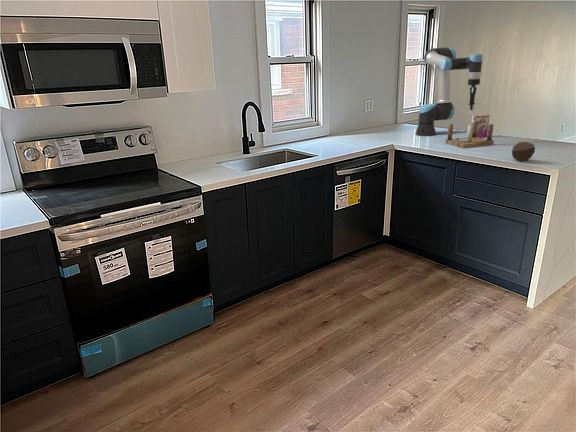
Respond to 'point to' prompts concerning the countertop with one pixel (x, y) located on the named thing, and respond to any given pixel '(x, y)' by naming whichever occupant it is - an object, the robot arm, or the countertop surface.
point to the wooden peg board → (475, 140)
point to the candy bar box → (481, 124)
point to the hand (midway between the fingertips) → (470, 114)
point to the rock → (523, 151)
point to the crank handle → (469, 135)
